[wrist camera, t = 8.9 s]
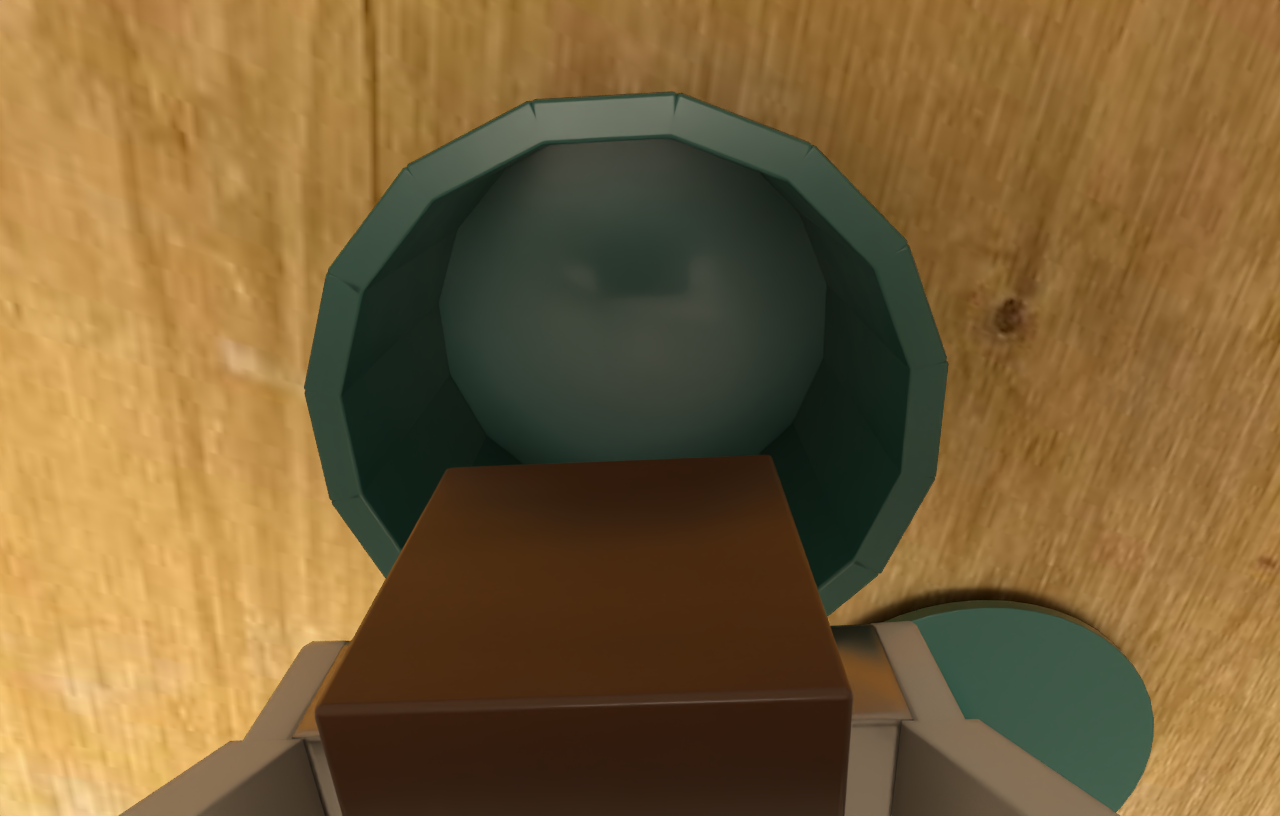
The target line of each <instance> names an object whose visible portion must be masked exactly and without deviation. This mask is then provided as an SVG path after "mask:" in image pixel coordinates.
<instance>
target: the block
mask: <svg viewBox="0 0 1280 816" xmlns="http://www.w3.org/2000/svg"><path fill="white" fill-rule="evenodd" d="M853 696H854V694H853V691H852V688H851V686H850V683H849V680H848V677H847V674H846V671H845V668H844V665H843V662H842V659H841V656H840V653H839V651H838V648H837V645H836V642H835V639H834V636H833V633H832V630H831V627H830V624H829V621H828V618H827V616H826V613H825V610H824V607H823V604H822V601H821V598H820V595H819V592H818V589H817V586H816V583H815V581H814V578H813V575H812V572H811V569H810V566H809V563H808V560H807V557H806V554H805V551H804V548H803V546H802V543H801V540H800V537H799V534H798V531H797V528H796V525H795V522H794V519H793V516H792V513H791V511H790V508H789V505H788V502H787V499H786V496H785V493H784V490H783V487H782V484H781V481H780V478H779V475H778V473H777V470H776V467H775V464H774V461H773V459H772V457H771V456H769V455H747V456H722V457H698V458H674V459H649V460H625V461H600V462H576V463H551V464H527V465H502V466H478V467H454V468H449V469H447V470H446V471H445V473H444V474H443V476H442V478H441V480H440V482H439V484H438V485H437V487H436V489H435V491H434V493H433V494H432V496H431V498H430V500H429V502H428V503H427V505H426V507H425V509H424V511H423V513H422V514H421V516H420V518H419V520H418V522H417V523H416V525H415V527H414V529H413V531H412V532H411V534H410V536H409V538H408V540H407V541H406V543H405V545H404V547H403V549H402V551H401V552H400V554H399V556H398V558H397V560H396V561H395V563H394V565H393V567H392V569H391V570H390V572H389V574H388V576H387V578H386V580H385V581H384V583H383V585H382V587H381V589H380V590H379V592H378V594H377V596H376V598H375V599H374V601H373V603H372V605H371V607H370V608H369V610H368V612H367V614H366V616H365V618H364V619H363V621H362V623H361V625H360V627H359V628H358V630H357V632H356V634H355V636H354V637H353V639H352V641H351V643H350V645H349V647H348V648H347V650H346V652H345V654H344V656H343V657H342V659H341V661H340V663H339V665H338V666H337V668H336V670H335V672H334V674H333V675H332V677H331V679H330V681H329V683H328V685H327V686H326V688H325V690H324V692H323V694H322V695H321V697H320V699H319V701H318V703H317V704H316V707H315V720H316V724H317V727H318V731H319V734H320V738H321V742H322V745H323V749H324V752H325V756H326V759H327V763H328V766H329V770H330V773H331V777H332V781H333V784H334V788H335V791H336V795H337V798H338V802H339V805H340V809H341V812H342V816H845V806H846V792H847V778H848V764H849V751H850V737H851V723H852V709H853Z"/></svg>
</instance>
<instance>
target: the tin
mask: <svg viewBox="0 0 1280 816" xmlns="http://www.w3.org/2000/svg"><path fill="white" fill-rule="evenodd" d="M947 372H948V362H947V356H946V353H945V350H944V347H943V344H942V341H941V338H940V335H939V332H938V329H937V327H936V324H935V321H934V318H933V315H932V312H931V309H930V306H929V303H928V300H927V297H926V294H925V291H924V288H923V285H922V282H921V279H920V276H919V273H918V270H917V267H916V264H915V261H914V258H913V255H912V253H911V250H910V247H909V245H908V244H907V240H906V239H905V238H904V237H903V236H902V235H901V234H900V233H899V232H898V231H897V230H896V229H895V228H894V227H893V226H892V225H891V224H890V223H889V222H888V221H887V220H886V219H885V217H884V216H883V215H882V214H881V213H880V212H879V211H878V210H877V209H876V208H875V207H874V206H873V205H872V204H871V203H870V202H869V201H868V200H867V199H866V198H865V197H864V196H863V195H862V194H861V193H860V192H859V191H858V190H857V188H856V187H855V186H854V185H853V184H852V183H851V182H850V181H849V180H848V179H847V178H846V177H845V176H844V175H843V174H842V173H841V172H840V171H839V170H838V169H837V168H836V167H835V166H834V165H833V164H832V163H831V162H830V161H829V159H828V158H827V157H826V156H825V155H824V154H823V153H822V152H821V151H820V150H819V149H818V148H817V147H816V146H814V145H811V144H810V143H809V142H807V141H804V140H802V139H799V138H797V137H794V136H792V135H789V134H786V133H784V132H781V131H779V130H776V129H774V128H771V127H768V126H766V125H763V124H761V123H758V122H756V121H753V120H750V119H748V118H745V117H743V116H740V115H737V114H735V113H732V112H730V111H727V110H725V109H722V108H719V107H717V106H714V105H712V104H709V103H707V102H704V101H701V100H699V99H696V98H694V97H691V96H688V95H686V94H683V93H677V94H676V93H675V92H656V93H638V94H620V95H602V96H584V97H566V98H548V99H535V100H533V101H526V102H524V103H523V104H521V105H519V106H517V107H515V108H513V109H511V110H509V111H507V112H506V113H504V114H502V115H500V116H498V117H496V118H494V119H492V120H490V121H489V122H487V123H485V124H483V125H481V126H479V127H477V128H475V129H474V130H472V131H470V132H468V133H466V134H464V135H462V136H460V137H458V138H457V139H455V140H453V141H451V142H449V143H447V144H445V145H443V146H441V147H440V148H438V149H436V150H434V151H432V152H430V153H428V154H426V155H424V156H423V157H421V158H419V159H417V160H415V161H413V162H411V163H409V164H408V165H407V167H405V168H403V169H402V170H401V172H400V173H399V174H398V176H397V177H396V179H395V180H394V181H393V183H392V184H391V185H390V187H389V188H388V189H387V191H386V192H385V193H384V195H383V196H382V197H381V199H380V200H379V201H378V203H377V204H376V205H375V207H374V208H373V209H372V211H371V212H370V213H369V215H368V216H367V217H366V219H365V220H364V222H363V223H362V224H361V226H360V227H359V228H358V230H357V231H356V232H355V234H354V235H353V236H352V238H351V239H350V240H349V242H348V243H347V244H346V246H345V247H344V248H343V250H342V251H341V252H340V254H339V255H338V256H337V258H336V259H335V260H334V262H333V263H332V265H331V266H330V267H329V269H328V272H327V274H326V278H325V283H324V288H323V293H322V298H321V303H320V309H319V314H318V319H317V324H316V329H315V334H314V339H313V344H312V350H311V355H310V360H309V365H308V370H307V375H306V380H305V385H304V389H305V397H306V401H307V406H308V410H309V414H310V418H311V422H312V427H313V431H314V435H315V439H316V444H317V448H318V452H319V456H320V460H321V465H322V469H323V473H324V477H325V481H326V486H327V490H328V494H329V498H330V500H332V504H333V506H334V507H335V509H336V510H337V511H338V513H339V514H340V516H341V517H342V518H343V520H344V521H345V523H346V524H347V525H348V527H349V528H350V530H351V531H352V532H353V534H354V535H355V537H356V538H357V539H358V541H359V542H360V543H361V545H362V546H363V548H364V549H365V550H366V552H367V553H368V555H369V556H370V557H371V559H372V560H373V562H374V563H375V564H376V566H377V567H378V569H379V570H380V571H381V573H382V574H383V576H384V577H385V578H387V576H388V574H389V572H390V570H391V569H392V567H393V565H394V563H395V561H396V560H397V558H398V556H399V554H400V552H401V551H402V549H403V547H404V545H405V543H406V541H407V540H408V538H409V536H410V534H411V532H412V531H413V529H414V527H415V525H416V523H417V522H418V520H419V518H420V516H421V514H422V513H423V511H424V509H425V507H426V505H427V503H428V502H429V500H430V498H431V496H432V494H433V493H434V491H435V489H436V487H437V485H438V484H439V482H440V480H441V478H442V476H443V474H444V473H445V471H446V470H447V469H449V468H454V467H478V466H502V465H527V464H551V463H576V462H600V461H625V460H649V459H674V458H698V457H722V456H747V455H769V456H771V457H772V459H773V461H774V464H775V467H776V470H777V473H778V475H779V478H780V481H781V484H782V487H783V490H784V493H785V496H786V499H787V502H788V505H789V508H790V511H791V513H792V516H793V519H794V522H795V525H796V528H797V531H798V534H799V537H800V540H801V543H802V546H803V548H804V551H805V554H806V557H807V560H808V563H809V566H810V569H811V572H812V575H813V578H814V581H815V583H816V586H817V589H818V592H819V595H820V598H821V601H822V604H823V607H824V610H825V613H826V616H829V615H830V614H831V613H832V612H834V611H835V610H836V609H837V608H839V607H840V606H841V605H842V604H843V603H845V602H846V601H847V600H848V599H850V598H851V597H852V596H853V595H855V594H856V593H857V592H858V591H859V590H861V589H862V588H863V587H864V586H866V585H867V584H868V583H869V582H871V581H872V580H873V579H874V578H876V577H877V576H878V573H882V571H883V569H884V567H885V566H886V564H887V562H888V560H889V559H890V557H891V555H892V553H893V552H894V550H895V548H896V546H897V545H898V543H899V541H900V539H901V538H902V536H903V534H904V532H905V531H906V529H907V527H908V525H909V524H910V522H911V520H912V518H913V517H914V515H915V513H916V511H917V510H918V508H919V506H920V504H921V503H922V501H923V499H924V497H925V496H926V494H927V492H928V491H929V489H930V487H931V485H932V484H933V482H934V480H935V477H936V471H937V462H938V453H939V444H940V435H941V426H942V417H943V408H944V399H945V390H946V381H947Z"/></svg>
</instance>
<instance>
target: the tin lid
mask: <svg viewBox="0 0 1280 816" xmlns="http://www.w3.org/2000/svg"><path fill="white" fill-rule="evenodd" d="M901 621H911V622H913V623H914V624H915V625H917V627H918V629H919V631H920V633H921V635H922V637H923V639H924V640H925V642H926V644H927V646H928V648H929V650H930V652H931V654H932V656H933V658H934V660H935V662H936V664H937V666H938V668H939V669H940V671H941V673H942V675H943V677H944V679H945V681H946V683H947V685H948V687H949V689H950V691H951V693H952V695H953V696H954V698H955V700H956V702H957V704H958V706H959V708H960V710H961V712H962V714H963V716H964V718H965V719H979V720H980V721H982V722H983V723H985V724H986V725H988V726H989V727H991V728H992V729H994V730H995V731H997V732H998V733H999V734H1001V735H1002V736H1004V737H1005V738H1007V739H1008V740H1010V741H1011V742H1013V743H1014V744H1016V745H1017V746H1019V747H1020V748H1021V749H1023V750H1024V751H1026V752H1027V753H1029V754H1030V755H1032V756H1033V757H1035V758H1036V759H1038V760H1039V761H1041V762H1042V763H1043V764H1045V765H1046V766H1048V767H1049V768H1051V769H1052V770H1054V771H1055V772H1057V773H1058V774H1060V775H1061V776H1063V777H1064V778H1065V779H1067V780H1068V781H1070V782H1071V783H1073V784H1074V785H1076V786H1077V787H1079V788H1080V789H1082V790H1083V791H1085V792H1086V793H1087V794H1089V795H1090V796H1092V797H1093V798H1095V799H1096V800H1098V801H1099V802H1101V803H1102V804H1104V805H1105V806H1107V807H1108V808H1110V809H1111V810H1112V811H1114V812H1115V813H1116V812H1117V811H1118V810H1119V809H1120V808H1121V807H1122V806H1123V804H1124V803H1125V801H1126V800H1127V799H1128V797H1129V796H1130V795H1131V793H1132V792H1133V791H1134V789H1135V787H1136V785H1137V783H1138V782H1139V780H1140V778H1141V776H1142V774H1143V772H1144V770H1145V767H1146V764H1147V762H1148V759H1149V756H1150V752H1151V747H1152V741H1153V729H1154V717H1153V712H1152V706H1151V701H1150V697H1149V695H1148V692H1147V690H1146V687H1145V685H1144V682H1143V680H1142V679H1141V677H1140V675H1139V674H1138V672H1137V671H1136V669H1135V667H1134V666H1133V665H1132V663H1131V662H1130V661H1129V660H1128V659H1127V658H1126V656H1125V655H1124V654H1123V653H1122V652H1121V651H1120V650H1119V649H1118V648H1117V646H1116V645H1115V644H1114V643H1113V642H1111V641H1110V640H1109V639H1108V638H1106V637H1105V636H1104V635H1103V634H1101V633H1100V632H1099V631H1097V630H1096V629H1094V628H1093V627H1091V626H1089V625H1087V624H1085V623H1084V622H1082V621H1080V620H1078V619H1076V618H1074V617H1071V616H1069V615H1066V614H1064V613H1061V612H1059V611H1056V610H1053V609H1049V608H1045V607H1041V606H1037V605H1033V604H1028V603H1021V602H1013V601H1006V600H973V601H961V602H951V603H946V604H941V605H936V606H930V607H926V608H922V609H919V610H916V611H912V612H909V613H906V614H902V615H899V616H897V617H895V618H892V619H890V620H887V621H885V622H901Z"/></svg>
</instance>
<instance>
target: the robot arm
mask: <svg viewBox="0 0 1280 816" xmlns="http://www.w3.org/2000/svg"><path fill="white" fill-rule="evenodd" d="M830 627H831V630H832V633H833V636H834V639H835V642H836V645H837V648H838V651H839V653H840V656H841V659H842V662H843V665H844V668H845V671H846V674H847V677H848V680H849V683H850V686H851V688H852V691H853V694H854V696H853V709H852V723H851V737H850V751H849V764H848V778H847V792H846V806H845V816H1120V815H1118V814H1117V813H1115V812H1114V811H1112V810H1111V809H1110V808H1108V807H1107V806H1105V805H1104V804H1102V803H1101V802H1099V801H1098V800H1096V799H1095V798H1093V797H1092V796H1090V795H1089V794H1087V793H1086V792H1085V791H1083V790H1082V789H1080V788H1079V787H1077V786H1076V785H1074V784H1073V783H1071V782H1070V781H1068V780H1067V779H1065V778H1064V777H1063V776H1061V775H1060V774H1058V773H1057V772H1055V771H1054V770H1052V769H1051V768H1049V767H1048V766H1046V765H1045V764H1043V763H1042V762H1041V761H1039V760H1038V759H1036V758H1035V757H1033V756H1032V755H1030V754H1029V753H1027V752H1026V751H1024V750H1023V749H1021V748H1020V747H1019V746H1017V745H1016V744H1014V743H1013V742H1011V741H1010V740H1008V739H1007V738H1005V737H1004V736H1002V735H1001V734H999V733H998V732H997V731H995V730H994V729H992V728H991V727H989V726H988V725H986V724H985V723H983V722H982V721H980V720H979V719H965V718H964V716H963V714H962V712H961V710H960V708H959V706H958V704H957V702H956V700H955V698H954V696H953V695H952V693H951V691H950V689H949V687H948V685H947V683H946V681H945V679H944V677H943V675H942V673H941V671H940V669H939V668H938V666H937V664H936V662H935V660H934V658H933V656H932V654H931V652H930V650H929V648H928V646H927V644H926V642H925V640H924V639H923V637H922V635H921V633H920V631H919V629H918V627H917V625H915V624H914V623H913V622H911V621H901V622H883V623H870V625H842V626H830ZM351 641H352V640H351ZM351 641H312V642H311V643H309V644H307V645H306V646H304V647H303V648H302V649H301V651H300V652H299V654H298V655H297V657H296V658H295V660H294V661H293V663H292V665H291V666H290V668H289V669H288V671H287V672H286V674H285V675H284V677H283V679H282V680H281V682H280V683H279V685H278V686H277V688H276V689H275V691H274V693H273V694H272V696H271V697H270V699H269V700H268V702H267V703H266V705H265V707H264V708H263V710H262V711H261V713H260V714H259V716H258V718H257V719H256V721H255V722H254V724H253V725H252V727H251V728H250V730H249V732H248V733H247V735H246V736H245V738H244V739H243V741H230V742H228V743H227V744H225V745H224V746H222V747H221V748H219V749H218V750H216V751H215V752H213V753H212V754H210V755H209V756H207V757H206V758H204V759H203V760H201V761H200V762H198V763H197V764H195V765H194V766H192V767H191V768H189V769H188V770H186V771H185V772H183V773H182V774H180V775H179V776H177V777H176V778H174V779H173V780H171V781H170V782H168V783H167V784H165V785H164V786H162V787H161V788H159V789H158V790H156V791H155V792H153V793H152V794H150V795H149V796H147V797H146V798H144V799H143V800H141V801H140V802H138V803H137V804H135V805H134V806H132V807H131V808H129V809H128V810H126V811H125V812H123V813H122V814H120V815H119V816H342V812H341V809H340V805H339V802H338V798H337V795H336V791H335V788H334V784H333V781H332V777H331V773H330V770H329V766H328V763H327V759H326V756H325V752H324V749H323V745H322V742H321V738H320V734H319V731H318V727H317V724H316V720H315V707H316V704H317V703H318V701H319V699H320V697H321V695H322V694H323V692H324V690H325V688H326V686H327V685H328V683H329V681H330V679H331V677H332V675H333V674H334V672H335V670H336V668H337V666H338V665H339V663H340V661H341V659H342V657H343V656H344V654H345V652H346V650H347V648H348V647H349V645H350V643H351Z"/></svg>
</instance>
